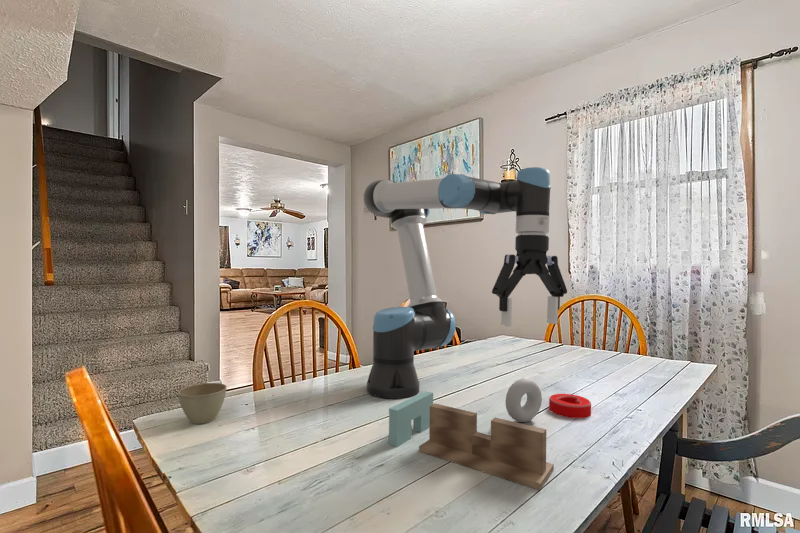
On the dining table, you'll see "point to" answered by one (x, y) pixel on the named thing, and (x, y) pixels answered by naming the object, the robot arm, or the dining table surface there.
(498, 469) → the jig
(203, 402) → the olive beige bowl
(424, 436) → the dining table surface
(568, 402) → the decorative ornament
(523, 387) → the donut
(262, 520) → the dining table surface
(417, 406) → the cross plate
